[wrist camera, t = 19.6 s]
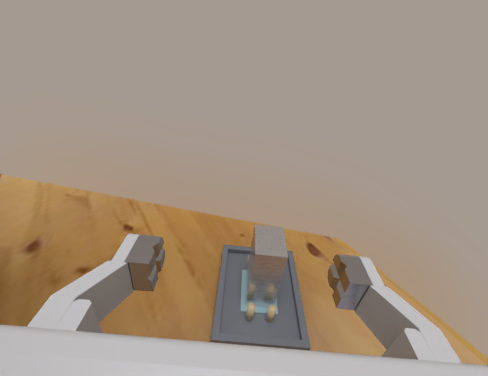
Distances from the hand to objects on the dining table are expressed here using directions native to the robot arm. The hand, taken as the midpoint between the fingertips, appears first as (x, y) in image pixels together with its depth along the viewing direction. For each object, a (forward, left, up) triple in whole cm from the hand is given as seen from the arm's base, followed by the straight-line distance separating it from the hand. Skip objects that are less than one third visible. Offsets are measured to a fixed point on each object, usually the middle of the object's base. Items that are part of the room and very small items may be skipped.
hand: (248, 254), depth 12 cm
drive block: (+5, +18, -28) cm, 34 cm away
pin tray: (+5, +18, -30) cm, 35 cm away
